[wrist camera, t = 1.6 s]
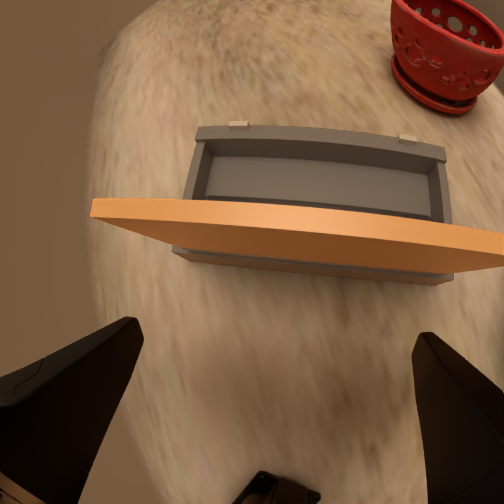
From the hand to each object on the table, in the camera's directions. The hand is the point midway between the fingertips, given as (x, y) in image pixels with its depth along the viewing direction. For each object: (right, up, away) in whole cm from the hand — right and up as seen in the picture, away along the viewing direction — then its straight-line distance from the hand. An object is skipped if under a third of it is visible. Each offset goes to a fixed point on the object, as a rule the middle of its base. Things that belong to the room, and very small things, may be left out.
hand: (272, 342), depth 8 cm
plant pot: (+21, +23, +17) cm, 35 cm away
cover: (+3, +3, +6) cm, 7 cm away
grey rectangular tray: (+5, +6, +16) cm, 18 cm away
